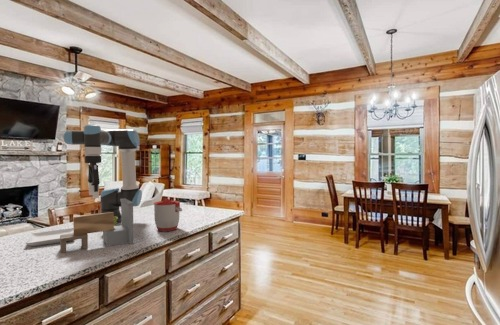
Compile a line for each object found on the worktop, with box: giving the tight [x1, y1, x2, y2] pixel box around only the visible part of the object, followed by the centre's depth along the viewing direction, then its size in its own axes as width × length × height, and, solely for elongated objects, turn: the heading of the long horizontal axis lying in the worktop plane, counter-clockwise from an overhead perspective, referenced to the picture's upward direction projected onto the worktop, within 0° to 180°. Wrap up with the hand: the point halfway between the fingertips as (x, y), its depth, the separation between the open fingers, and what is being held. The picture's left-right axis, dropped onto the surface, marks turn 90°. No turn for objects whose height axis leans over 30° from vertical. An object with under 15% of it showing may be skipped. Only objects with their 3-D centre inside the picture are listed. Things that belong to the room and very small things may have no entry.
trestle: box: [60, 233, 89, 254], centre depth 140 cm, size 8×11×7 cm
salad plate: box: [25, 227, 74, 247], centre depth 155 cm, size 21×21×3 cm
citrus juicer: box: [153, 197, 183, 232], centre depth 176 cm, size 16×17×20 cm
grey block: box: [102, 198, 135, 247], centre depth 152 cm, size 19×12×22 cm, turn 37°
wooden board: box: [72, 212, 114, 235], centre depth 145 cm, size 3×18×14 cm, turn 127°
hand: (93, 196), depth 145 cm, fingers open, 13 cm apart
